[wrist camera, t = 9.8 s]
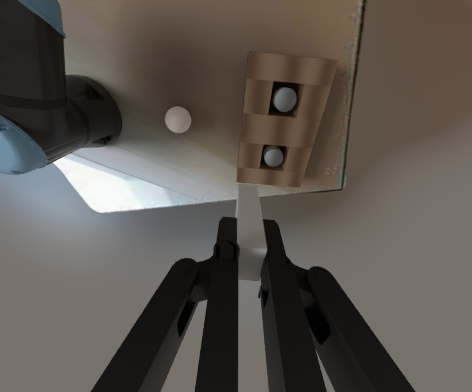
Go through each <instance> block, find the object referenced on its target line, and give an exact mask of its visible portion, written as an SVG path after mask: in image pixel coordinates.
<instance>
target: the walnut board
mask: <svg viewBox="0 0 472 392" xmlns="http://www.w3.org/2000/svg"><path fill="white" fill-rule="evenodd" d="M338 63H339V60H329V59H319V58H309V57H299V56H289V55H279V54H269V53H259V52H249V53H248V60H247V71H246V82H245V92H244V103H243V114H242V125H241V135H240V146H239V157H238V168H237V182H241V183H253V184H266V185H278V186H290V187H301V184H302V180H303V177H304V174H305V171H306V167H307V164H308V161H309V158H310V154H311V151H312V148H313V145H314V141H315V138H316V135H317V132H318V128H319V125H320V122H321V119H322V115H323V112H324V109H325V106H326V102H327V99H328V96H329V92H330V89H331V86H332V83H333V79H334V76H335V73H336V70H337V66H338ZM273 81H279V82H290V83H297V85H296V90H295V93H296V97H297V100H296V103H295V105H294V107H293V108H292V109H291V112H290V113H287V112H276V111H269V105H270V99H271V93H272V86H273ZM263 144H266V145H277V146H283V149H282V154H283V161H282V162H281V163H280V164H279V165H278V166H274V167H272V166H269V165H267V164H266V162H265V160H261V155H262V149H263Z"/></svg>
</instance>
